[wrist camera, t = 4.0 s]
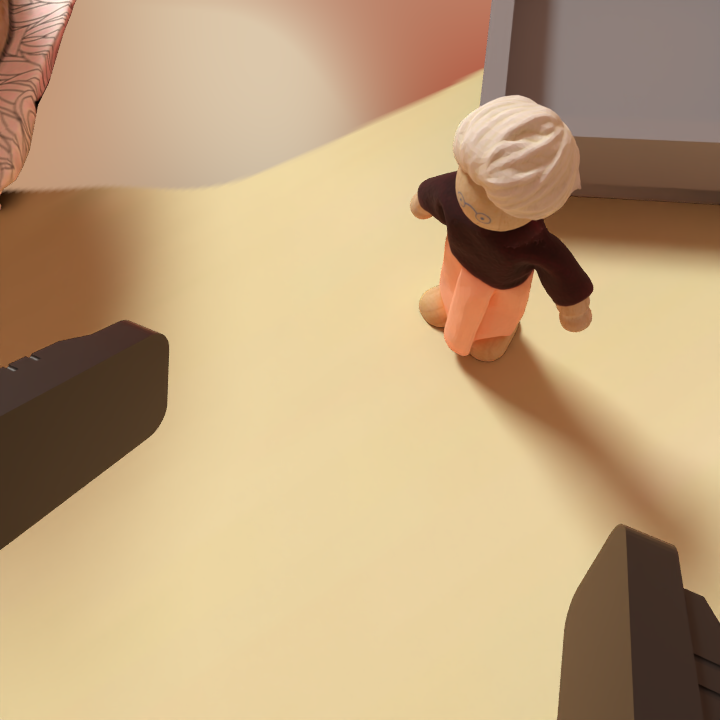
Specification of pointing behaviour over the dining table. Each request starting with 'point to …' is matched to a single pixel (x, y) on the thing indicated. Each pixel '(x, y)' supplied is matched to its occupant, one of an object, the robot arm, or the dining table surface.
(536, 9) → the tray
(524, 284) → the grandmother figurine
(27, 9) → the cookie jar
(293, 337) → the dining table surface
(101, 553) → the dining table surface
